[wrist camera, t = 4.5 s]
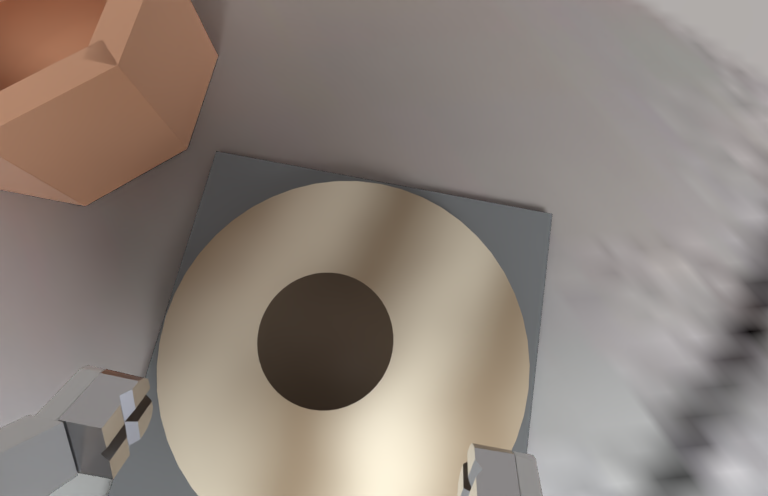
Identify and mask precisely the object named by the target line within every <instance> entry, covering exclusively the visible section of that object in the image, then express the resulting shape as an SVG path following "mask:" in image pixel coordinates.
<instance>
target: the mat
mask: <svg viewBox="0 0 768 496" xmlns="http://www.w3.org/2000/svg"><path fill="white" fill-rule="evenodd" d="M333 181H361V182H369V183H377V184H383V185H387V186H391V187H395V188H399V189H402V190H405V191H408V192H410V193H413V194H415V195H418V196H420V197H423V198H425V199H427V200H428V201H430V202H432V203H434V204H436V205H438V206H440V207H441V208H443V209H444V210H446V211H447V212H449V213H450V214H451V215H453V216H454V217H456V218H457V219H459V220H460V221H461V222H462V223H463V224H464V225H465V226H467V227H468V228H469V229H470V230H471V231H472V232H473V233H474V234H475V235H476V236H477V237H478V238H479V239H480V240H481V241H482V243H483V244H484V245H485V246H486V247H487V248H488V250H489V251H490V252H491V253H492V255H493V256H494V258H495V259H496V261H497V262H498V264H499V265H500V267H501V268H502V270H503V271H504V273H505V275H506V277H507V279H508V281H509V283H510V285H511V287H512V289H513V291H514V293H515V296H516V299H517V301H518V304H519V307H520V310H521V313H522V316H523V320H524V325H525V330H526V335H527V340H528V351H529V363H530V368H529V389H528V395H527V401H526V407H525V412H524V417H523V420H522V423H521V426H520V430H519V433H518V436H517V439H516V441H515V444H514V446H513V448H512V450H511V451H515V452H520V453H525V454H527V446H528V437H529V428H530V418H531V409H532V399H533V390H534V381H535V371H536V362H537V353H538V343H539V334H540V325H541V315H542V306H543V297H544V287H545V278H546V269H547V259H548V250H549V240H550V231H551V222H552V214H550V213H545V212H539V211H534V210H529V209H523V208H518V207H513V206H507V205H502V204H497V203H491V202H486V201H481V200H475V199H470V198H465V197H459V196H454V195H448V194H443V193H438V192H432V191H427V190H422V189H416V188H411V187H406V186H400V185H395V184H390V183H384V182H379V181H374V180H368V179H363V178H358V177H352V176H347V175H341V174H336V173H331V172H325V171H320V170H315V169H309V168H304V167H299V166H293V165H288V164H283V163H277V162H272V161H267V160H261V159H256V158H251V157H245V156H240V155H234V154H229V153H224V152H218V151H216V154H215V157H214V160H213V164H212V167H211V170H210V173H209V176H208V180H207V183H206V186H205V189H204V192H203V195H202V199H201V202H200V205H199V208H198V211H197V215H196V218H195V221H194V224H193V227H192V230H191V234H190V237H189V240H188V243H187V246H186V249H185V253H184V256H183V259H182V262H181V265H180V269H179V272H178V275H177V278H176V281H175V284H174V288H173V291H172V294H171V297H170V300H169V304H168V307H167V310H166V313H165V316H164V319H163V323H162V326H161V329H160V332H159V335H158V338H157V342H156V345H155V348H154V351H153V354H152V358H151V361H150V364H149V367H148V370H147V373H146V377H145V378H147V379H148V380H149V385H150V389H149V391H148V392H147V394H146V395H147V396H148V397H149V398H150V399H151V400H152V405H153V411H152V417H151V420H150V423H149V425H148V428H147V430H146V431H145V433H144V434H143V436H142V437H141V439H140V440H138V441H136V442H134V443H133V444H131V445H129V451H130V455H129V457H128V458H127V460H126V461H125V463H124V464H123V466H122V467H121V469H120V470H119V471H118V473H117V474H116V476H115V477H114V479H113V482H112V485H111V488H110V491H109V494H108V496H198V495H197V494H196V492H195V491H194V490H193V489H192V487H191V486H190V484H189V483H188V481H187V479H186V478H185V476H184V474H183V473H182V471H181V469H180V468H179V466H178V464H177V462H176V460H175V457H174V455H173V453H172V450H171V448H170V446H169V444H168V441H167V437H166V434H165V430H164V427H163V423H162V420H161V416H160V409H159V402H158V395H157V360H158V351H159V343H160V338H161V334H162V330H163V326H164V322H165V318H166V315H167V312H168V310H169V307H170V304H171V302H172V299H173V297H174V294H175V292H176V290H177V288H178V286H179V285H180V283H181V281H182V279H183V277H184V275H185V273H186V272H187V270H188V269H189V267H190V266H191V265H192V263H193V262H194V260H195V259H196V258H197V256H198V255H199V253H200V252H201V251H202V250H203V249H204V248H205V247H206V245H207V244H208V243H209V242H210V241H211V240H212V239H213V238H214V237H215V235H217V234H218V233H219V232H220V231H221V230H222V229H223V228H225V227H226V226H227V225H228V224H229V223H230V222H231V221H233V220H234V219H235V218H237V217H238V216H240V215H241V214H243V213H244V212H246V211H247V210H249V209H250V208H252V207H253V206H255V205H257V204H259V203H261V202H263V201H265V200H267V199H269V198H271V197H273V196H276V195H278V194H281V193H284V192H286V191H289V190H292V189H295V188H299V187H303V186H307V185H311V184H316V183H325V182H333Z"/></svg>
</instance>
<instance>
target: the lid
mask: <svg viewBox="0 0 768 496" xmlns="http://www.w3.org/2000/svg"><path fill="white" fill-rule="evenodd" d="M529 368H530V363H529V351H528V340H527V335H526V330H525V325H524V320H523V316H522V313H521V310H520V307H519V304H518V301H517V299H516V296H515V293H514V291H513V289H512V287H511V285H510V283H509V281H508V279H507V277H506V275H505V273H504V271H503V270H502V268H501V267H500V265H499V264H498V262H497V261H496V259H495V258H494V256H493V255H492V253H491V252H490V251H489V250H488V248H487V247H486V246H485V245H484V244H483V243H482V241H481V240H480V239H479V238H478V237H477V236H476V235H475V234H474V233H473V232H472V231H471V230H470V229H469V228H468V227H467V226H465V225H464V224H463V223H462V222H461V221H460V220H459V219H457V218H456V217H454V216H453V215H451V214H450V213H449V212H447V211H446V210H444V209H443V208H441V207H440V206H438V205H436V204H434V203H432V202H430V201H428V200H427V199H425V198H423V197H420V196H418V195H415V194H413V193H410V192H408V191H405V190H402V189H399V188H395V187H391V186H387V185H383V184H377V183H369V182H361V181H333V182H325V183H316V184H311V185H307V186H303V187H299V188H295V189H292V190H289V191H286V192H284V193H281V194H278V195H276V196H273V197H271V198H269V199H267V200H265V201H263V202H261V203H259V204H257V205H255V206H253V207H252V208H250V209H249V210H247V211H246V212H244V213H243V214H241V215H240V216H238V217H237V218H235V219H234V220H233V221H231V222H230V223H229V224H228V225H227V226H226V227H225V228H223V229H222V230H221V231H220V232H219V233H218V234H217V235H215V237H214V238H213V239H212V240H211V241H210V242H209V243H208V244H207V245H206V247H205V248H204V249H203V250H202V251H201V252H200V253H199V255H198V256H197V258H196V259H195V260H194V262H193V263H192V265H191V266H190V267H189V269H188V270H187V272H186V273H185V275H184V277H183V279H182V281H181V283H180V285H179V286H178V288H177V290H176V292H175V294H174V297H173V299H172V302H171V304H170V307H169V310H168V312H167V315H166V318H165V322H164V326H163V330H162V334H161V338H160V343H159V351H158V360H157V395H158V402H159V409H160V416H161V420H162V423H163V427H164V430H165V434H166V437H167V441H168V444H169V446H170V448H171V450H172V453H173V455H174V457H175V460H176V462H177V464H178V466H179V468H180V469H181V471H182V473H183V474H184V476H185V478H186V479H187V481H188V483H189V484H190V486H191V487H192V489H193V490H194V491H195V492H196V494H197V495H198V496H457V493H458V482H459V476H460V472H461V468H462V465H463V464H464V463H466V462H468V461H467V452H468V449H469V447H470V445H471V444H472V443H475V444H480V445H485V446H491V447H496V448H501V449H507V450H512V448H513V446H514V444H515V441H516V439H517V436H518V433H519V430H520V426H521V423H522V420H523V417H524V412H525V407H526V401H527V395H528V389H529Z"/></svg>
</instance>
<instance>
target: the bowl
mask: <svg viewBox="0 0 768 496" xmlns="http://www.w3.org/2000/svg"><path fill="white" fill-rule="evenodd" d="M217 58H218V55H217V53H216V51H215V49H214V47H213V45H212V43H211V41H210V39H209V37H208V35H207V32H206V30H205V28H204V26H203V24H202V22H201V20H200V18H199V16H198V14H197V12H196V10H195V8H194V6H193V4H192V2H191V0H0V190H4V191H9V192H14V193H19V194H25V195H30V196H35V197H40V198H45V199H51V200H56V201H61V202H66V203H71V204H76V205H82V206H87V205H89V204H90V203H92V202H94V201H96V200H97V199H99V198H101V197H103V196H105V195H106V194H108V193H110V192H112V191H113V190H115V189H117V188H119V187H120V186H122V185H124V184H126V183H128V182H129V181H131V180H133V179H135V178H136V177H138V176H140V175H142V174H144V173H145V172H147V171H149V170H151V169H152V168H154V167H156V166H158V165H160V164H161V163H163V162H165V161H167V160H168V159H170V158H172V157H174V156H175V155H177V154H179V153H181V152H183V151H184V150H186V149H187V148H188V145H189V142H190V139H191V136H192V133H193V130H194V127H195V124H196V121H197V118H198V115H199V112H200V109H201V106H202V103H203V100H204V97H205V94H206V91H207V88H208V85H209V82H210V79H211V76H212V73H213V70H214V67H215V64H216V61H217Z"/></svg>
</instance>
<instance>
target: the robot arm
mask: <svg viewBox="0 0 768 496" xmlns="http://www.w3.org/2000/svg"><path fill="white" fill-rule="evenodd" d="M149 389H150V385H149V380H148V379H147V378H143V377H138V376H134V375H130V374H125V373H121V372H117V371H112V370H108V369H103V368H98V367H94V366H89V365H87V366H85V367H83V368H81V369H80V370H78V372H77V373H76V374H75V375H74V376H73V377H72V378H71V379H70V380H69V381H68V382H67V383H66V384H65V385H64V386H63V387H62V388H61V389H60V390H59V391H58V392H57V393H56V395H55V396H54V397H53V398H52V399H51V400H50V401H49V402H48V403H47V404H46V405H45V406H44V407H43V408H42V409H41V410H40V411H39V412H38V413H37V414H36V415H35V416H32V415H28V416H26V417H23V418H21V419H19V420H17V421H15V422H13V423H10V424H8V425H6V426H4V427H2V428H0V496H48V495H50V494H51V493H53V492H54V491H56V490H57V489H59V488H60V487H61V486H63V485H64V484H66V483H67V482H69V481H70V480H72V479H73V478H75V477H76V476H78V473H81V474H87V475H92V476H98V477H104V478H109V479H114V477H115V476H116V474H117V473H118V471H119V470H120V469H121V467H122V466H123V464H124V463H125V461H126V460H127V458H128V457H129V455H130V451H129V445H131V444H133V443H134V442H136V441H138V440H140V439H141V437H142V436H143V434H144V433H145V431H146V430H147V428H148V425H149V423H150V420H151V417H152V411H153V405H152V400H151V399H150V398H149V397H148V396H147V395H146V394H147V392H148V391H149ZM467 461H468V462H466V463H464V464H463V465H462V468H461V472H460V476H459V482H458V493H457V496H543V494H542V489H541V484H540V478H539V473H538V468H537V463H536V459H535V457H534V456H533V455H530V454H525V453H520V452H515V451H511V450H507V449H501V448H496V447H491V446H485V445H480V444H475V443H472V444H471V445H470V447H469V449H468V452H467Z"/></svg>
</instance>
